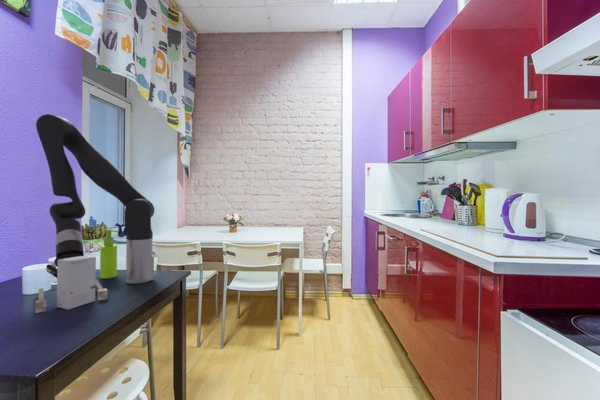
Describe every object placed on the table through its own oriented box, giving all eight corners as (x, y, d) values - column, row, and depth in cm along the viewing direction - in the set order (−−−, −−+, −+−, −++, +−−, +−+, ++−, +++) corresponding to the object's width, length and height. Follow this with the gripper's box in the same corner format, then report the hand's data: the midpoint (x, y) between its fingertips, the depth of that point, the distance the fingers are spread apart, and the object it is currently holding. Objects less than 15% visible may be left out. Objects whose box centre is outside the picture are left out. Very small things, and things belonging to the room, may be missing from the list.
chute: (99, 286, 107) (99, 278, 107) (107, 298, 95) (107, 290, 94) (36, 296, 96) (36, 287, 95) (35, 313, 83) (35, 303, 83)
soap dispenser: (113, 278, 117) (113, 230, 116) (96, 278, 117) (96, 230, 117) (122, 274, 123) (122, 228, 122) (106, 274, 123) (106, 228, 122)
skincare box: (68, 310, 85) (68, 261, 85) (55, 307, 87) (55, 259, 87) (96, 300, 93) (96, 255, 93) (84, 298, 95) (84, 254, 95)
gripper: (44, 240, 94) (44, 286, 85) (93, 237, 103) (97, 278, 94) (44, 253, 98) (44, 298, 89) (91, 249, 107) (95, 290, 98)
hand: (71, 288), depth 92 cm, fingers closed
